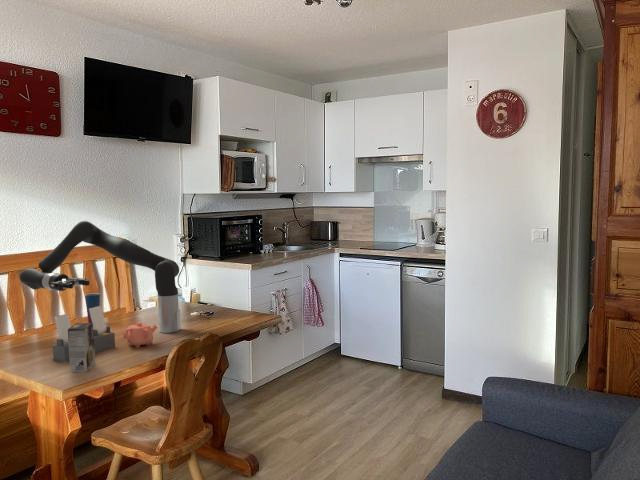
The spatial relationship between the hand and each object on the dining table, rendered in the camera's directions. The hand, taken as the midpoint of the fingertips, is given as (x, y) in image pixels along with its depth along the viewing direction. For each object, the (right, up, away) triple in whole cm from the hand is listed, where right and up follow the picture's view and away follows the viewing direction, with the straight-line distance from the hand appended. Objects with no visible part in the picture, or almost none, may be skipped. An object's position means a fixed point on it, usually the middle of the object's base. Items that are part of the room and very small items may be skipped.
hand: (80, 284), depth 230 cm
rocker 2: (+10, -19, -3) cm, 22 cm away
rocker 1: (+3, -21, -18) cm, 27 cm away
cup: (-11, -23, +40) cm, 48 cm away
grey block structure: (+6, -27, -10) cm, 30 cm away
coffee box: (+14, -29, -30) cm, 44 cm away
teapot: (+26, -26, +1) cm, 37 cm away
